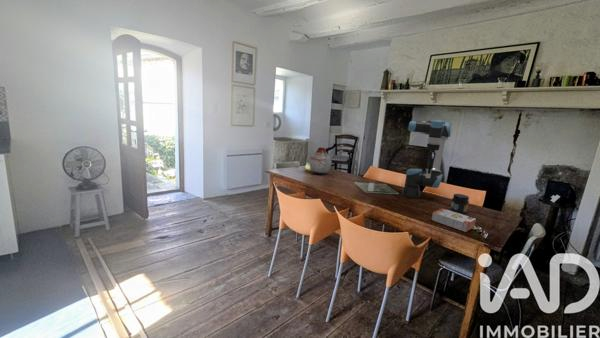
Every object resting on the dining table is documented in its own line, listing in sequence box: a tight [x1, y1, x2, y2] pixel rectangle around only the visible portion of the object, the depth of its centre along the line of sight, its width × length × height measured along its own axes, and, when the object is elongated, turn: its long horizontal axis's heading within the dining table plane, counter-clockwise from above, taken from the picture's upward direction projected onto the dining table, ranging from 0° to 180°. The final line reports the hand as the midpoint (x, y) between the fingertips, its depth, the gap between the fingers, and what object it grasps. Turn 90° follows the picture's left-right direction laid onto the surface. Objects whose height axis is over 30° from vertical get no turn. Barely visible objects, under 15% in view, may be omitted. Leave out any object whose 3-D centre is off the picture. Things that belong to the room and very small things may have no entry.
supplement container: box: [450, 193, 470, 215], centre depth 191 cm, size 10×10×12 cm
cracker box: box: [431, 208, 477, 233], centre depth 167 cm, size 14×6×21 cm
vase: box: [309, 147, 332, 176], centre depth 278 cm, size 23×23×28 cm
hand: (427, 177), depth 180 cm, fingers closed
